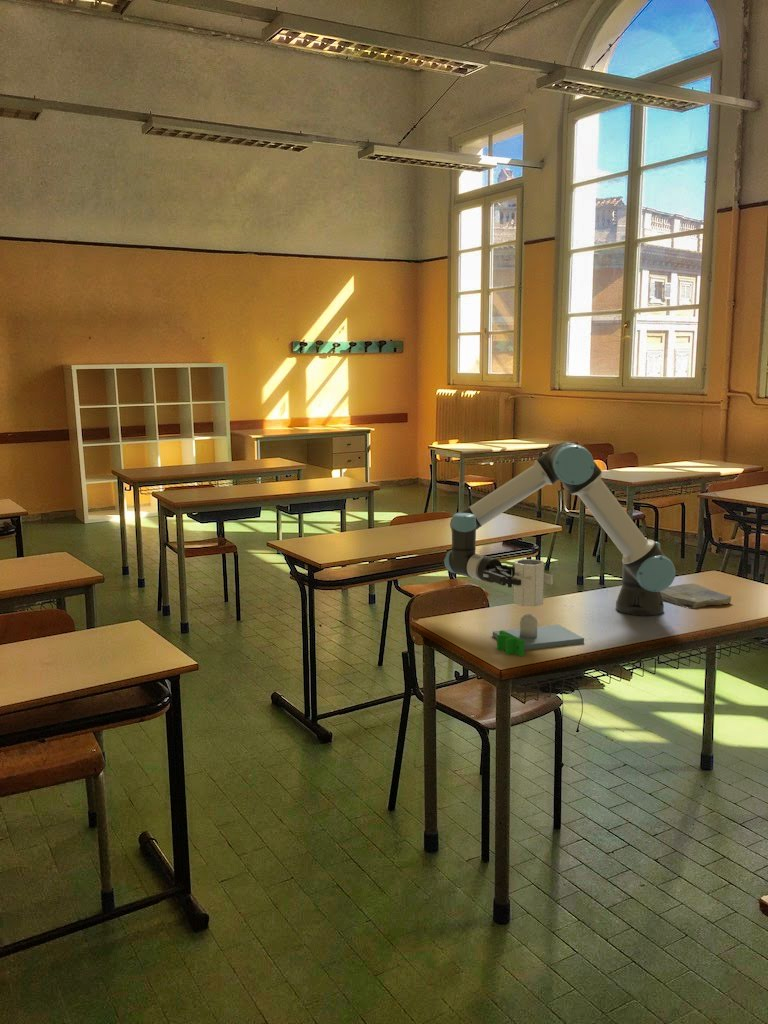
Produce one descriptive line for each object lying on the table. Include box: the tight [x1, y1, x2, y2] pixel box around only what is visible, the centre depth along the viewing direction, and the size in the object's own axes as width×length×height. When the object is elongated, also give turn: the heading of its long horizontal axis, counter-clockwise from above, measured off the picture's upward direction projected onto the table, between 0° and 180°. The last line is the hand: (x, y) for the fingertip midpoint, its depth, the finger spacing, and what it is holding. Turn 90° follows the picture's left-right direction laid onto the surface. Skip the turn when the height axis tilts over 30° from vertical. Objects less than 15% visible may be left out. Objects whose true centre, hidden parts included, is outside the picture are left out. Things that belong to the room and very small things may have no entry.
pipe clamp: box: [496, 629, 525, 657], centre depth 241 cm, size 11×4×5 cm, turn 25°
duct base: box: [492, 613, 585, 651], centre depth 251 cm, size 22×15×8 cm
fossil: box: [660, 583, 732, 609], centre depth 294 cm, size 20×5×17 cm
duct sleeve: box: [513, 558, 545, 607], centre depth 248 cm, size 8×8×12 cm
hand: (541, 582), depth 245 cm, fingers closed on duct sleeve, 8 cm apart
